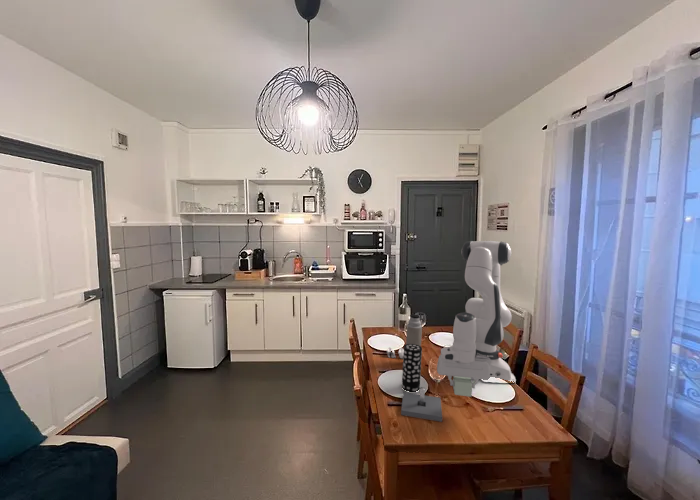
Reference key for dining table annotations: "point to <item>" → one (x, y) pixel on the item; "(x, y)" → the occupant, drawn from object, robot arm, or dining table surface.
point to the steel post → (422, 396)
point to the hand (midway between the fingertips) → (462, 386)
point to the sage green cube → (462, 386)
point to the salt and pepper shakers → (401, 352)
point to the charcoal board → (421, 407)
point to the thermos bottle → (414, 330)
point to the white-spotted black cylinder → (411, 367)
